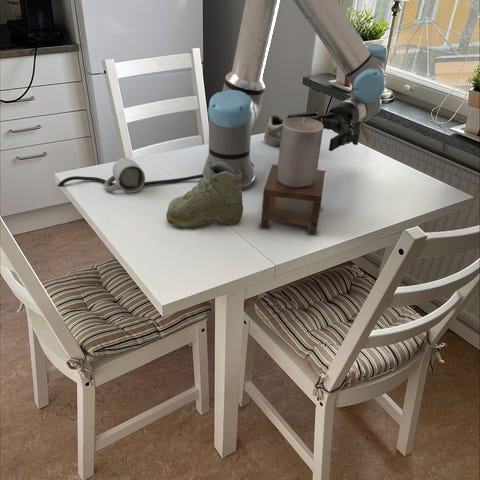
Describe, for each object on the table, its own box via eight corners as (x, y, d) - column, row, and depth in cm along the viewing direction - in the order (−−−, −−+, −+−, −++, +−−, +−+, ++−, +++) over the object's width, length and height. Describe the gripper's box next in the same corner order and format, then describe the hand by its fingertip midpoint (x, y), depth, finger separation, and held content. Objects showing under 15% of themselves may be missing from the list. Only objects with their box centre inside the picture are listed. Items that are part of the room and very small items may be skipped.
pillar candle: (285, 168, 131) (291, 108, 122) (321, 176, 128) (330, 116, 119) (270, 182, 124) (275, 120, 115) (307, 191, 121) (316, 128, 112)
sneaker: (170, 206, 134) (168, 153, 124) (242, 211, 134) (246, 159, 124) (164, 230, 127) (161, 176, 116) (241, 236, 127) (245, 182, 116)
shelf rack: (260, 227, 128) (263, 189, 121) (269, 201, 140) (272, 164, 133) (315, 235, 127) (322, 196, 120) (319, 207, 138) (325, 170, 131)
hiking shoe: (308, 155, 160) (319, 116, 157) (254, 144, 170) (264, 108, 168) (320, 162, 167) (331, 125, 165) (268, 151, 178) (278, 116, 176)
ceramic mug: (137, 178, 147) (134, 152, 142) (146, 190, 141) (144, 164, 136) (101, 185, 143) (97, 158, 138) (109, 197, 138) (105, 170, 133)
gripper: (386, 141, 133) (349, 167, 119) (304, 119, 143) (262, 140, 130) (393, 112, 128) (355, 135, 114) (307, 91, 138) (264, 110, 125)
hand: (305, 138), depth 122 cm, fingers open, 13 cm apart
